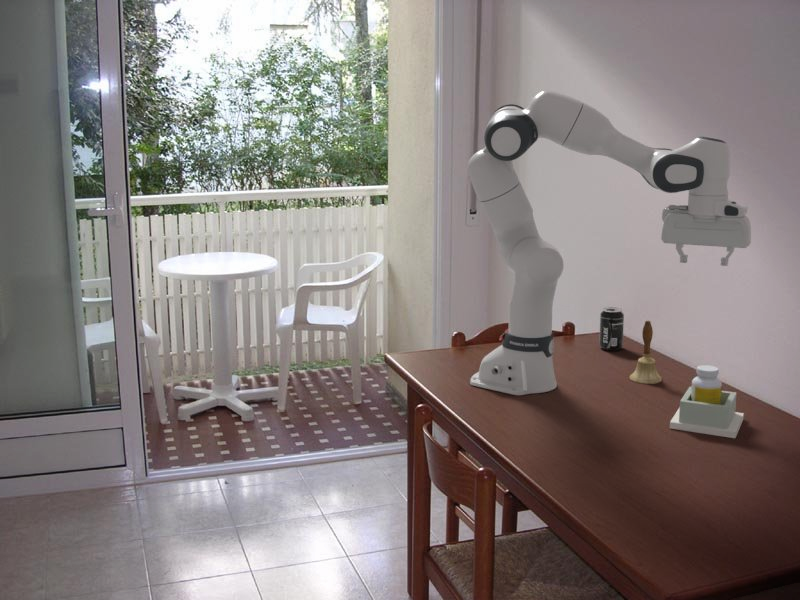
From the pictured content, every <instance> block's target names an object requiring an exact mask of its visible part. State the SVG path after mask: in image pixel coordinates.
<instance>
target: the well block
mask: <svg viewBox="0 0 800 600" xmlns="http://www.w3.org/2000/svg"><path fill="white" fill-rule="evenodd" d="M691 390H692V386H689V387H688V388H687V389H686V392H685V393H684V395H683V396H682V398H681V399H680V401H679V407H678V409H677V411H676V412H675V413H674V415H673V417H672V418H671V419H670V422H669V429H672V430H676V431H677V430H678V431H679V430H680V431H684V432H691V433H692V432H693V433H697V434H705V435H711V436H717V437H723V438H724V437H725V438H732V439H736V437H737V435H738V433H739V430H740V428H741V426H742V423H743V421H744V415H745V413H744V412H739V411H736V408H737V394H738V393H737V392H735V391H727V390H722V392H721V405H718V404H710V403H703V402H696V401H691Z"/></svg>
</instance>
